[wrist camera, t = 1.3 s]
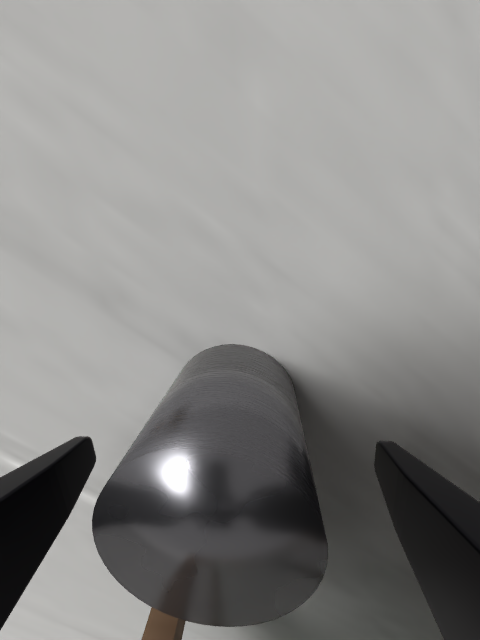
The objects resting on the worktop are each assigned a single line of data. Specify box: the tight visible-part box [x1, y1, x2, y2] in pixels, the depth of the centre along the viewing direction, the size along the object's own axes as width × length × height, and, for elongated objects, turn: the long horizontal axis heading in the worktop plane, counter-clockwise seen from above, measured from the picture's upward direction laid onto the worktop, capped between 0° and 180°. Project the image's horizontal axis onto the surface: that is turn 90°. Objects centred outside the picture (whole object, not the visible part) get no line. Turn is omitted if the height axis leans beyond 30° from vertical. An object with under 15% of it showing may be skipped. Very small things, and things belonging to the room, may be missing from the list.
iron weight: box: [92, 344, 328, 627], centre depth 8 cm, size 5×5×6 cm
